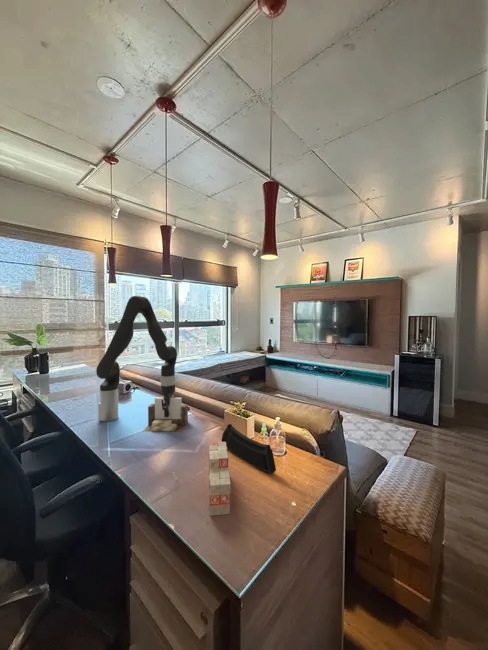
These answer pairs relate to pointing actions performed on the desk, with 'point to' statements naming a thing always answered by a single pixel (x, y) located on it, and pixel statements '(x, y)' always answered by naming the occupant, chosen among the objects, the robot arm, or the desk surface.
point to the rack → (174, 421)
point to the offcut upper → (161, 423)
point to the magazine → (249, 449)
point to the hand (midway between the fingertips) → (168, 414)
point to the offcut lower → (164, 428)
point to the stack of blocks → (219, 479)
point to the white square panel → (174, 409)
